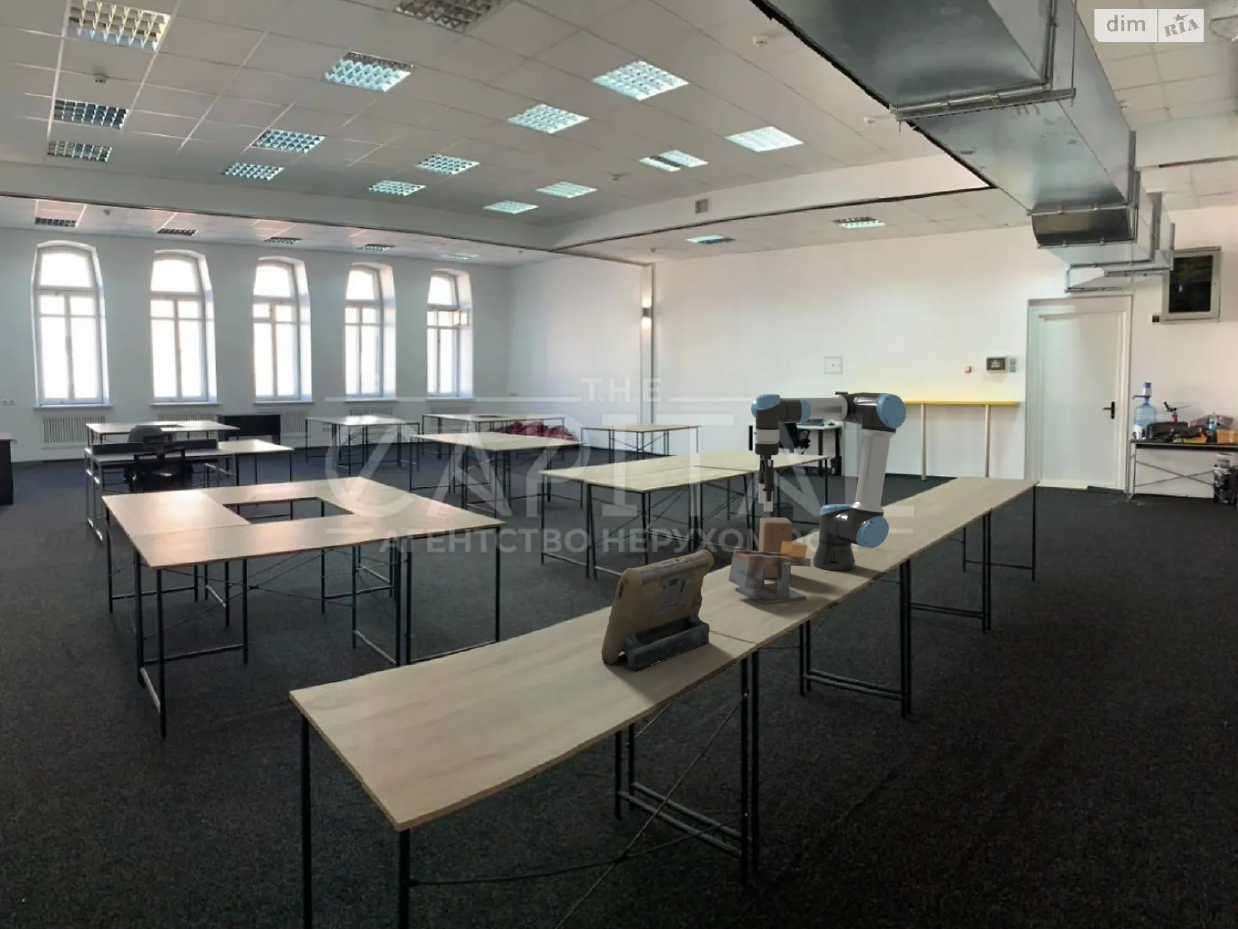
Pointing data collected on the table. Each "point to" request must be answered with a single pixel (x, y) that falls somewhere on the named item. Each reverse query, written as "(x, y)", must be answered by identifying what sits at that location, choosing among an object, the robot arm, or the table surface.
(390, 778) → the table surface
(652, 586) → the tablet
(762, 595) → the pivot stand
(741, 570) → the beam
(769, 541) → the wooden block
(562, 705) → the table surface
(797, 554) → the rider
